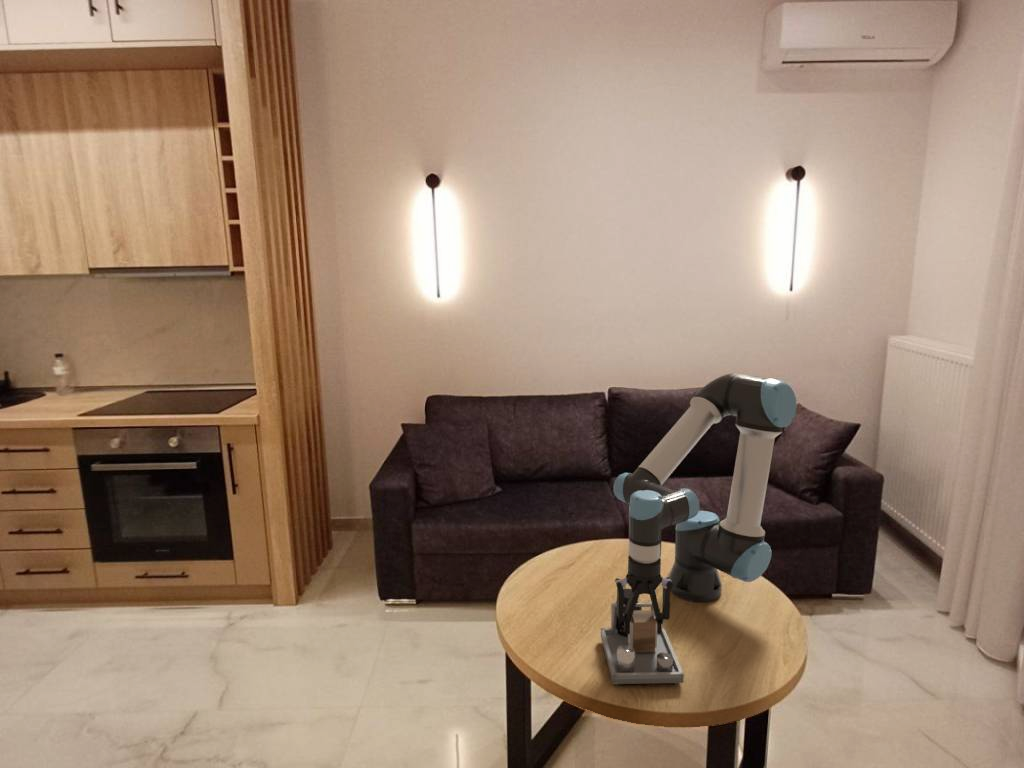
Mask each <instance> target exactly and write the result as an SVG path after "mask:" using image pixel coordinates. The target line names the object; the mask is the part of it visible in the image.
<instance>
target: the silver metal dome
mask: <svg viewBox="0 0 1024 768" xmlns="http://www.w3.org/2000/svg"><path fill="white" fill-rule="evenodd" d="M656 668H657V671H658V672H672V671H673V657H672V656H671V655H670V654H668V653H659V654H658V655H657V667H656Z"/></svg>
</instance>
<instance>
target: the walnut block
mask: <svg viewBox="0 0 1024 768" xmlns="http://www.w3.org/2000/svg"><path fill="white" fill-rule="evenodd" d="M632 621H633V648H634V650H635V653H643V652H655V631H656V621H655V619H654V617H653V614H652V612H651V609H649V610H648V609H647V610H646V609H642V610H639V611H634V612H633V615H632Z"/></svg>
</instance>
